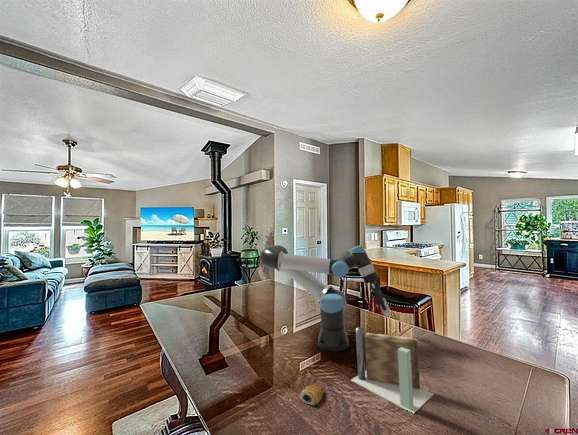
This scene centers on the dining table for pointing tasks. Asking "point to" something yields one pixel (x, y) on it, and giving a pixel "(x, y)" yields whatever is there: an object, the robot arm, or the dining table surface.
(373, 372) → the gate
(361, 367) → the hinge post
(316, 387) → the pastry
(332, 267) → the robot arm
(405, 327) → the dining table surface
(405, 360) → the latch post
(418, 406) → the mat
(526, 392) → the dining table surface
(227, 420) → the dining table surface
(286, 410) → the dining table surface
